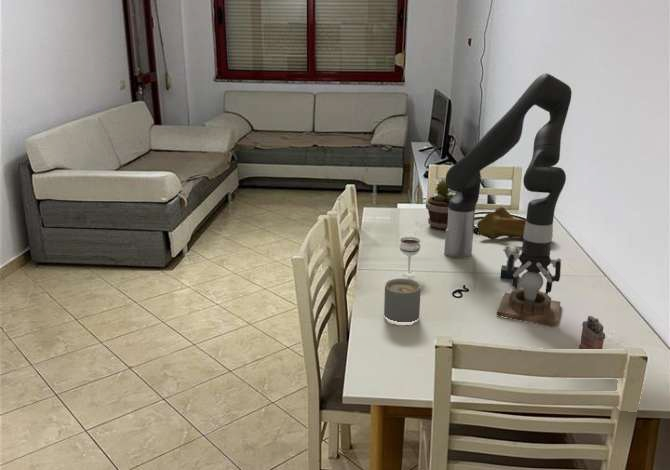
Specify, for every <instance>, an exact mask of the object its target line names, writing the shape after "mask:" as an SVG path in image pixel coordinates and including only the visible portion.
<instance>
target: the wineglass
mask: <svg viewBox="0 0 670 470" xmlns="http://www.w3.org/2000/svg"><path fill="white" fill-rule="evenodd" d="M399 241H400V244H399V250H400V252H401V253H402V254H403V255H405V256H407V258H408V259H407V263H408V264H407V265H408V267H407V269H408V270H407V271H408V273H411V272H412V271H411V272H409V271H410V267H411V258H412V257H413V256H415V255H417V254H418V253H419V251H420V249H421V244H420V243H421V239H419V238H417V237H413V236H404V237H402V238H400V239H399Z"/></svg>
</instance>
